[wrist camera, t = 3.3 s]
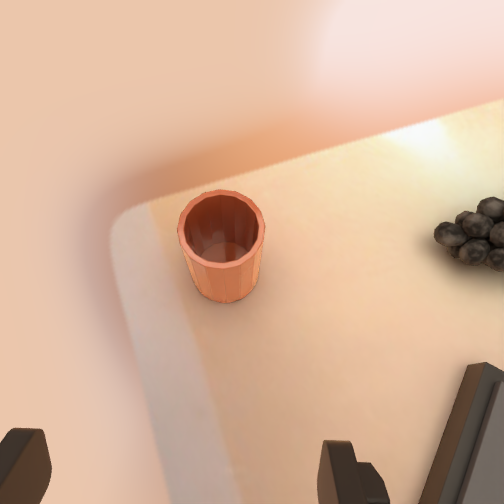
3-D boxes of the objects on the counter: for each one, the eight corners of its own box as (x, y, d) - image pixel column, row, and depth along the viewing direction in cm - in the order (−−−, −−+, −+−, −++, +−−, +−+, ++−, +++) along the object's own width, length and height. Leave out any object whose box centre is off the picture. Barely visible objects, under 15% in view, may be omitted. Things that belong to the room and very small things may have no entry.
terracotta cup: (236, 315, 31) (236, 284, 23) (179, 282, 32) (160, 241, 24) (270, 260, 33) (280, 214, 25) (215, 229, 34) (207, 176, 26)
